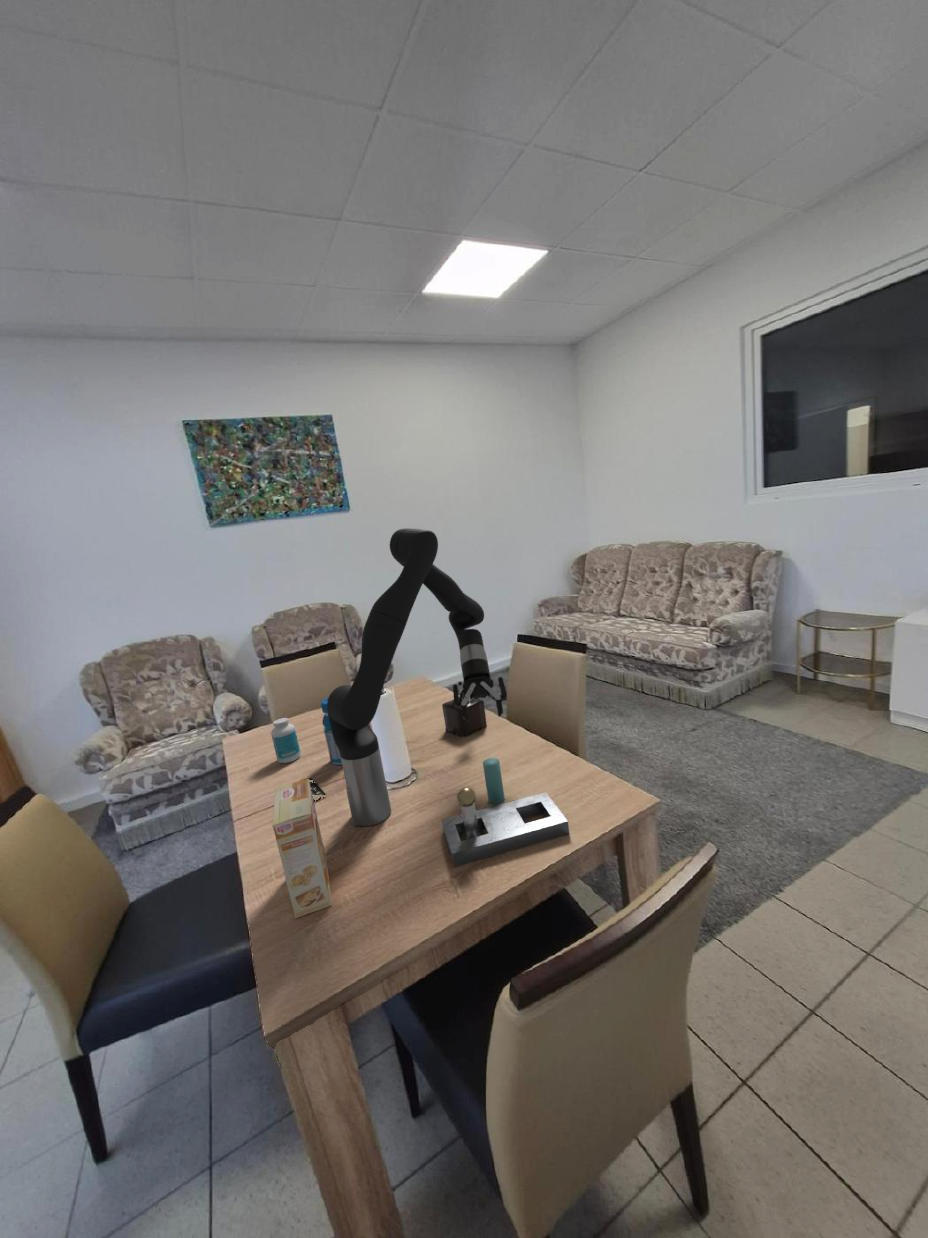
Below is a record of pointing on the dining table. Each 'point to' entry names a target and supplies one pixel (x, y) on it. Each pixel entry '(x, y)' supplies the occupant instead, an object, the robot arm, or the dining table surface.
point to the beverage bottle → (330, 736)
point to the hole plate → (500, 826)
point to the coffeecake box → (301, 848)
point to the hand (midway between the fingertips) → (483, 718)
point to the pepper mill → (455, 716)
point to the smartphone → (318, 789)
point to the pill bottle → (285, 741)
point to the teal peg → (493, 781)
